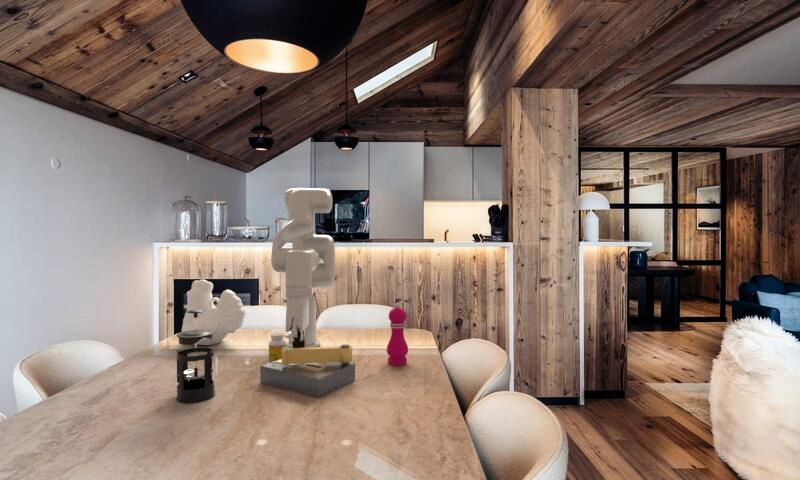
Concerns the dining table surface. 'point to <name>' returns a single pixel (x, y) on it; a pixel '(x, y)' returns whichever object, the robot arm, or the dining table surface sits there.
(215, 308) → the decorative rooster
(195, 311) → the french press
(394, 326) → the pepper mill
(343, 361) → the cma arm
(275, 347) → the supplement bottle
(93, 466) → the dining table surface
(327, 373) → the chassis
